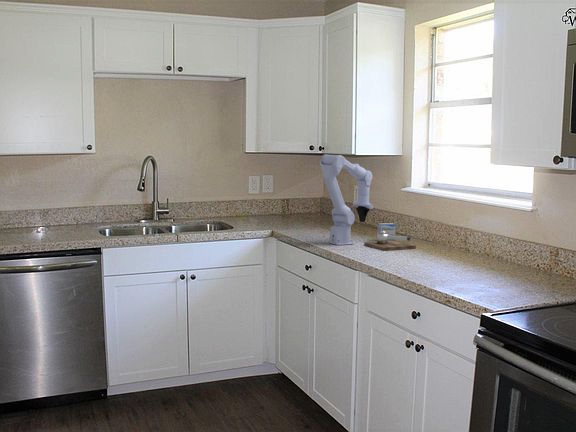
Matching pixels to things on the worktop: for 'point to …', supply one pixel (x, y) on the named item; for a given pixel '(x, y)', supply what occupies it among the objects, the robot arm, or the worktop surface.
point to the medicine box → (387, 229)
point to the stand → (390, 245)
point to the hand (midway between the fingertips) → (362, 221)
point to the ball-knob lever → (383, 238)
